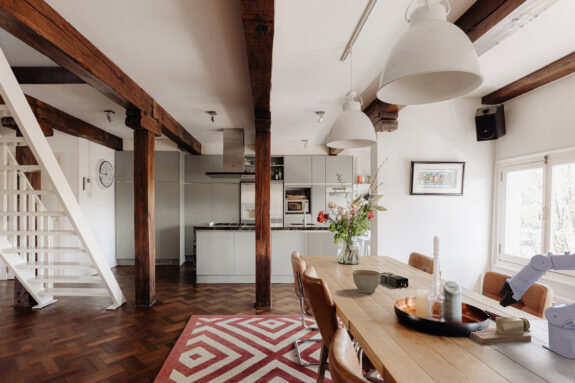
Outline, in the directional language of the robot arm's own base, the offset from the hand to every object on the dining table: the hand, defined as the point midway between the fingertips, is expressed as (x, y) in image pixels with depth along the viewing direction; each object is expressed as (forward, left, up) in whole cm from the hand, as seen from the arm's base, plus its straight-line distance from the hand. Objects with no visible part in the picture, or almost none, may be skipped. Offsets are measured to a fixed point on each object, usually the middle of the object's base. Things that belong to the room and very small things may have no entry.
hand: (501, 300), depth 123 cm
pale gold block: (-6, +2, -10) cm, 12 cm away
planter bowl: (+60, +33, -13) cm, 70 cm away
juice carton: (+74, +10, -13) cm, 76 cm away
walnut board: (-6, +7, -12) cm, 15 cm away
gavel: (+10, -7, -13) cm, 17 cm away
